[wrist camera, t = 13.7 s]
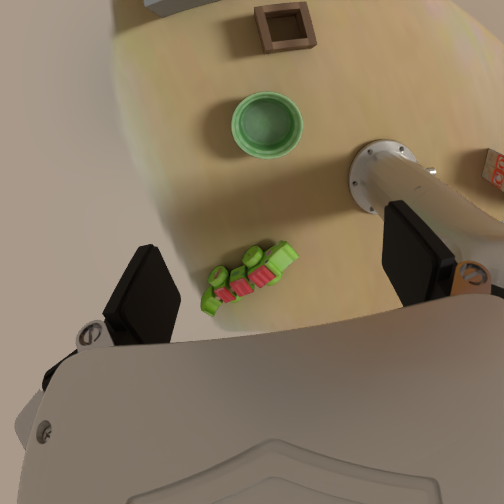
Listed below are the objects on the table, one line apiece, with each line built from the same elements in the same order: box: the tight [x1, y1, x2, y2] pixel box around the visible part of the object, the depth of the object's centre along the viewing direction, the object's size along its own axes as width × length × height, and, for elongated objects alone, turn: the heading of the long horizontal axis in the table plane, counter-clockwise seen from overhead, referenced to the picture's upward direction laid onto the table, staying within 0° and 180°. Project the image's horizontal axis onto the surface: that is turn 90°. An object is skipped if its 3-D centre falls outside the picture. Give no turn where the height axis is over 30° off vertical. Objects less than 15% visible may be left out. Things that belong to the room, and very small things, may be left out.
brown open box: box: [254, 2, 317, 54], centre depth 26 cm, size 6×6×4 cm
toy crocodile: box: [201, 241, 299, 317], centre depth 47 cm, size 20×7×6 cm, turn 126°
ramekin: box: [231, 91, 303, 159], centre depth 34 cm, size 9×9×4 cm
